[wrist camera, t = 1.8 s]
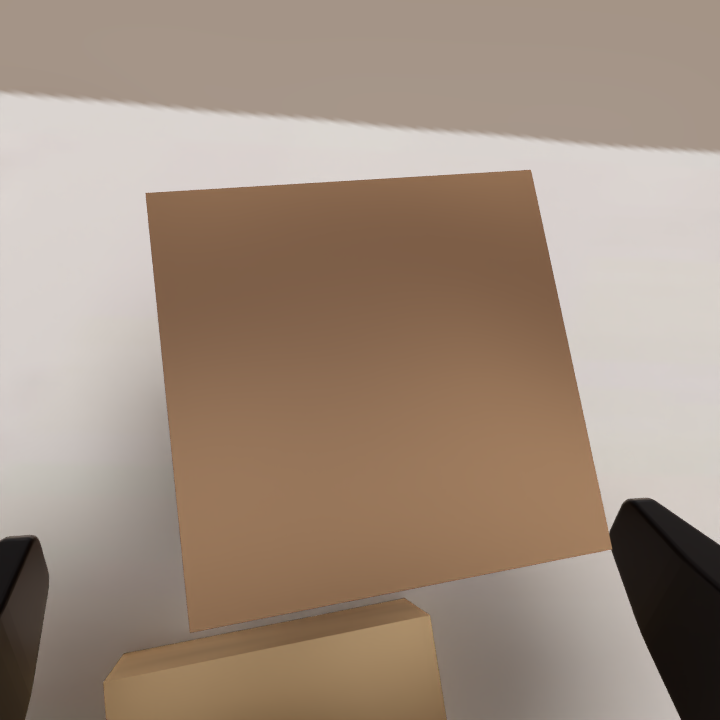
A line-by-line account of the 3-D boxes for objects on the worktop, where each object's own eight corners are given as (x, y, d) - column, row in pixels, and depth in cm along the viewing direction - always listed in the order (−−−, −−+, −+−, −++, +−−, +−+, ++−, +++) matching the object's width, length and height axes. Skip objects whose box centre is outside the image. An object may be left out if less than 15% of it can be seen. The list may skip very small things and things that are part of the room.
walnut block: (390, 512, 19) (612, 549, 8) (224, 541, 18) (189, 633, 7) (365, 353, 20) (530, 169, 9) (205, 372, 19) (144, 192, 8)
